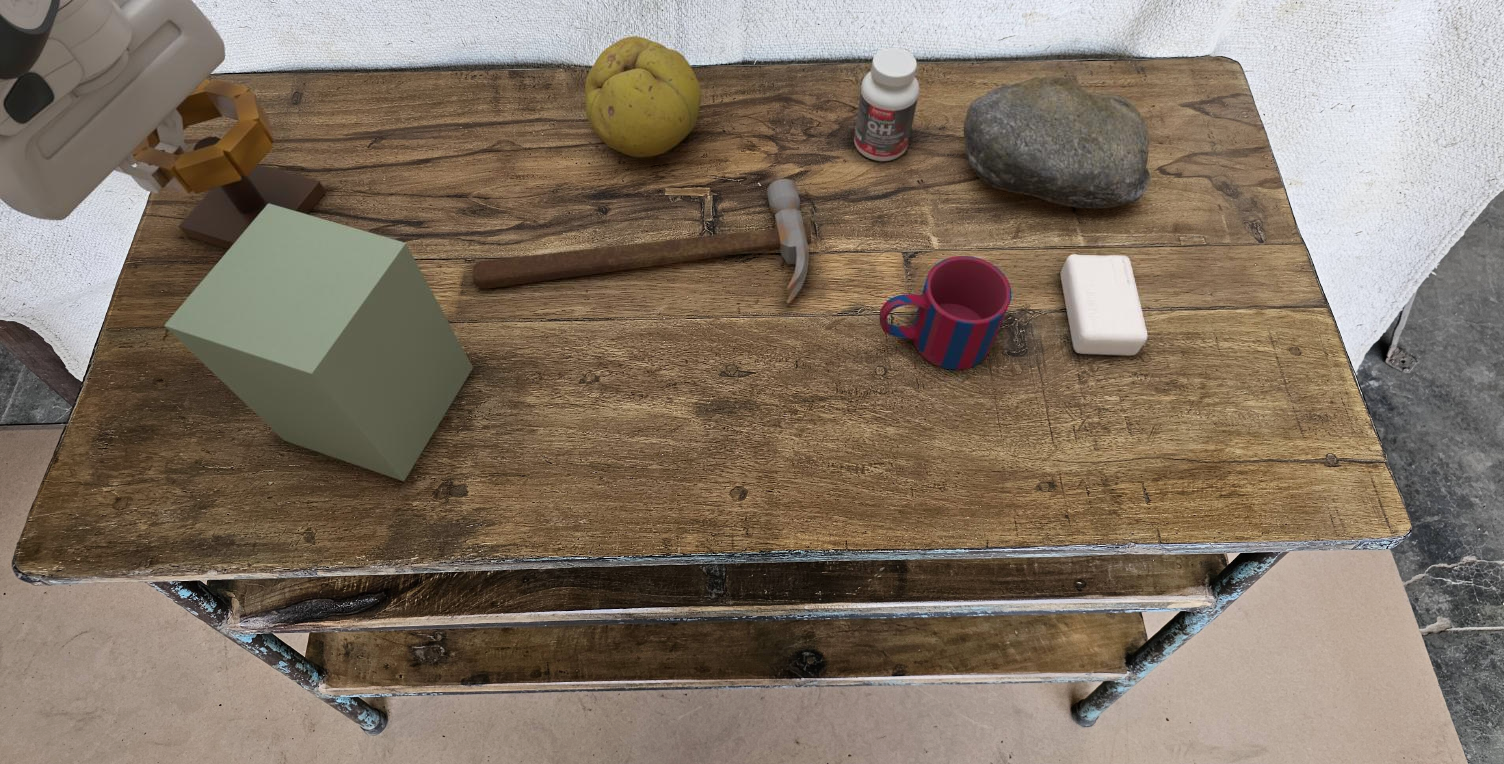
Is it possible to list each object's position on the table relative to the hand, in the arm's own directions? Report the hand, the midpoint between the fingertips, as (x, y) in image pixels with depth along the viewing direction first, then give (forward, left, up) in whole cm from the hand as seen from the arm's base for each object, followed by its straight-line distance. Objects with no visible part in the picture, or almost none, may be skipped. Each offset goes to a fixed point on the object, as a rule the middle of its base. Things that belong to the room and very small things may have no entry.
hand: (169, 173), depth 70 cm
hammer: (+10, -37, -10) cm, 39 cm away
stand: (+4, 0, -9) cm, 10 cm away
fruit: (+25, -31, -10) cm, 41 cm away
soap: (+18, -76, -10) cm, 79 cm away
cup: (+11, -63, -10) cm, 65 cm away
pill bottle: (+32, -53, -10) cm, 63 cm away
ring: (+4, 0, -1) cm, 4 cm away
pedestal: (-10, -22, -9) cm, 26 cm away
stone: (+33, -69, -10) cm, 77 cm away
